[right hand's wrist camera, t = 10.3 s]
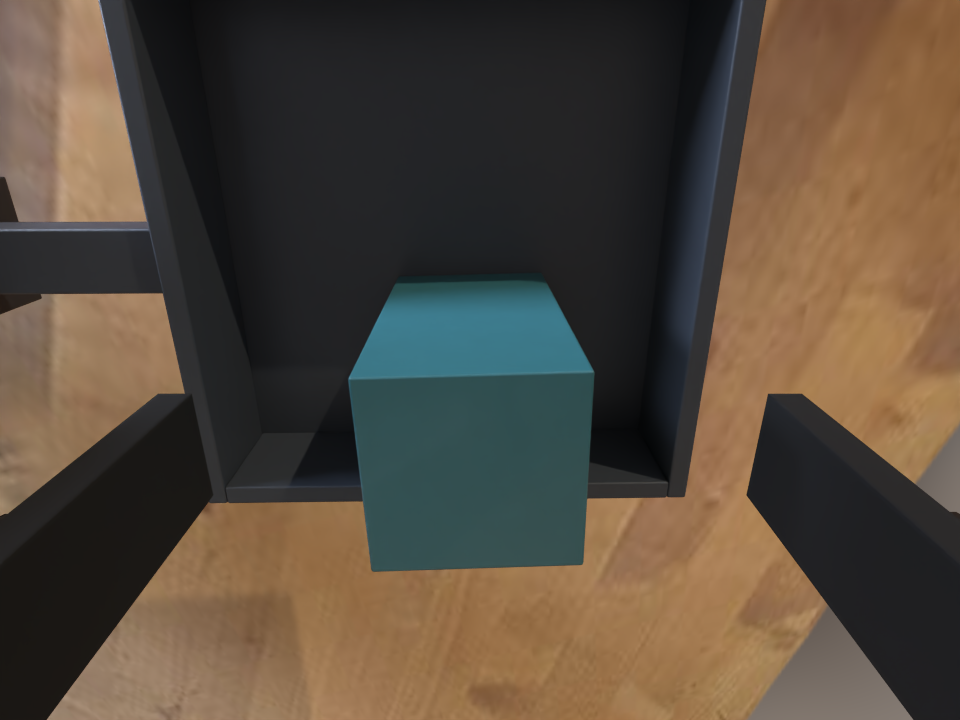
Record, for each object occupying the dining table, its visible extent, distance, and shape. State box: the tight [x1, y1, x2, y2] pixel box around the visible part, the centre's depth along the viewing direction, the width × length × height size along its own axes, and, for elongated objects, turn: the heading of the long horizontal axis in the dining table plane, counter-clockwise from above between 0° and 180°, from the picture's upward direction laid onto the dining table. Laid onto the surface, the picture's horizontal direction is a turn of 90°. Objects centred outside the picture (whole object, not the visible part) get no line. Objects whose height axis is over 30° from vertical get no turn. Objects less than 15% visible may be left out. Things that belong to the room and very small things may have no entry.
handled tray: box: [0, 0, 766, 503], centre depth 15 cm, size 27×15×7 cm, turn 90°
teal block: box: [348, 273, 594, 572], centre depth 16 cm, size 5×5×8 cm
